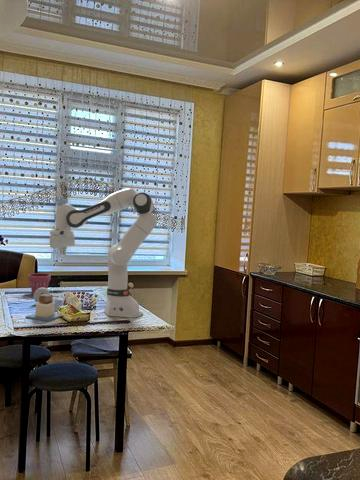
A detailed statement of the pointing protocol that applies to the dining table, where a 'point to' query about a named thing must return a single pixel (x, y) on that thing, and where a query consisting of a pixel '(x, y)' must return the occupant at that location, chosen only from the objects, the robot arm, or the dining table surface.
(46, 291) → the donut
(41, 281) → the plant pot
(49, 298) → the walnut block
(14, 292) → the dining table surface
